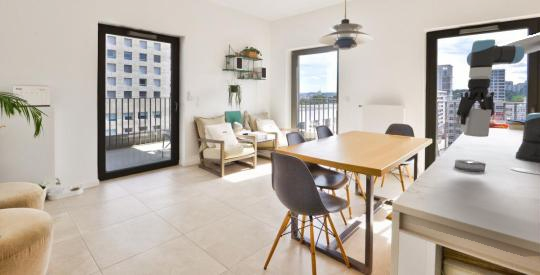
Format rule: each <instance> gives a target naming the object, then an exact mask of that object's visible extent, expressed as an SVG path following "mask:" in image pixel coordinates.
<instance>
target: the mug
mask: <svg viewBox="0 0 540 275" xmlns="http://www.w3.org/2000/svg"><path fill="white" fill-rule="evenodd" d="M467 117H469V121H468V130H467V133H464V132H463V135H464V136H469V137H477V138H486V137H487V138H488V137H489V136H490V135H489V133H490V125H491V124H490V123H491V117H492V116H491V110H488V109H487V110H484V109H481V108H471V110H470V112H469V114H468V116H467ZM460 119H461V117H459V115H456V120H455V122H456V126H457V127H458V128H460V129H461V124H460Z"/></svg>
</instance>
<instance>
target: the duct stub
mask: <svg viewBox="0 0 540 275" xmlns="http://www.w3.org/2000/svg"><path fill="white" fill-rule="evenodd" d="M486 165H487V164H486V162H484V161H482V160H481V161H480V160H475V159H466V158H457V159H455V160H454V168H455V169H456V170H459V171H464V172H468V173H484V172H486Z"/></svg>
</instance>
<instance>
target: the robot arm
mask: <svg viewBox="0 0 540 275" xmlns="http://www.w3.org/2000/svg"><path fill="white" fill-rule="evenodd" d="M538 51H540V32H538V33H536V34H533V35H528V36H524V37H520V38H518V39H515V40H511V41H507V42H503V43H500V44H496V40H495V39H493V38H485V39H484V38H483V39H477V40H475V41H473V42H472V46H471V51H470V52H469V54H467V56H466V63H467V65H468V66H469V74H468V78H469V79H468V81H467V88H468V91H461V96H460V97H461V98H460V101H459V106H458V107H457V111H456V116H458V115H459V117H460V121H459V123H460V124H461V128H460V133H463V134H464V133H467V130H468V121H469V117H467V116H468V114H469V112H470V110H471V109H473V106H474V104H475V103H478V104H479V107H480V108H479V109H484V110H487V109H488V110H491V117H492V116H494V115H495V106H494V104H495V102H494V95H495V92H494V91H489V90H488V89H489V88H490V86H491V77H492V71H493V66H496V65H513V64H514V65H515V64H518V63H520V62H521V61H522V60H523V58H524V56H525V55H527V54H532V53H535V52H538ZM523 124H524V126H523V132H522V139H521V140H522V141H521V144H520V146H519V147H518V150H517V151H516V153H515V158H516V159H517V160H518V159H519V160H521V161H525V162H526V161H527V162H533V163H538V164H539V163H540V112H532V113H528V114H527V115H525V119H524V123H523Z"/></svg>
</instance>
